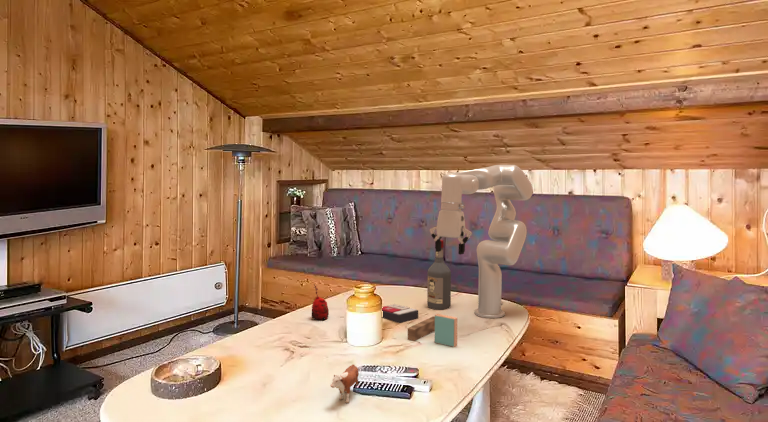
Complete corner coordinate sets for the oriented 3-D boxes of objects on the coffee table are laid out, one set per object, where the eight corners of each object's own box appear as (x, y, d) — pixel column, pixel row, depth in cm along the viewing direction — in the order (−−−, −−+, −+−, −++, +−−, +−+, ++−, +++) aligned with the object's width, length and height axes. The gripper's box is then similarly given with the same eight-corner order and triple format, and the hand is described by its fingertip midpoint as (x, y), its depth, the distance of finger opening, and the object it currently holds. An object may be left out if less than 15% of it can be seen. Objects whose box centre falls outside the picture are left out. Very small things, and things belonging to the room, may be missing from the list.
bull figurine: (327, 406, 134) (327, 376, 134) (349, 386, 147) (349, 358, 146) (343, 409, 133) (342, 379, 132) (363, 388, 145) (363, 360, 145)
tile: (437, 340, 185) (437, 313, 184) (457, 345, 180) (457, 317, 180) (434, 342, 183) (434, 315, 182) (453, 347, 179) (454, 319, 178)
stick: (433, 327, 201) (433, 316, 201) (439, 329, 199) (439, 317, 199) (407, 340, 187) (407, 328, 186) (414, 341, 185) (414, 329, 185)
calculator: (394, 303, 224) (418, 308, 213) (394, 312, 224) (419, 318, 213) (375, 307, 217) (399, 313, 206) (375, 317, 217) (399, 323, 206)
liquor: (437, 303, 236) (438, 238, 233) (453, 307, 229) (454, 240, 227) (424, 306, 230) (424, 240, 227) (439, 311, 223) (440, 242, 220)
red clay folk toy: (331, 319, 211) (331, 283, 210) (316, 322, 207) (315, 285, 206) (323, 315, 217) (322, 280, 216) (308, 317, 213) (307, 282, 212)
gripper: (476, 208, 191) (474, 254, 192) (435, 206, 201) (434, 249, 202) (467, 208, 185) (465, 256, 186) (426, 206, 195) (424, 251, 196)
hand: (449, 252), depth 194 cm, fingers open, 9 cm apart
